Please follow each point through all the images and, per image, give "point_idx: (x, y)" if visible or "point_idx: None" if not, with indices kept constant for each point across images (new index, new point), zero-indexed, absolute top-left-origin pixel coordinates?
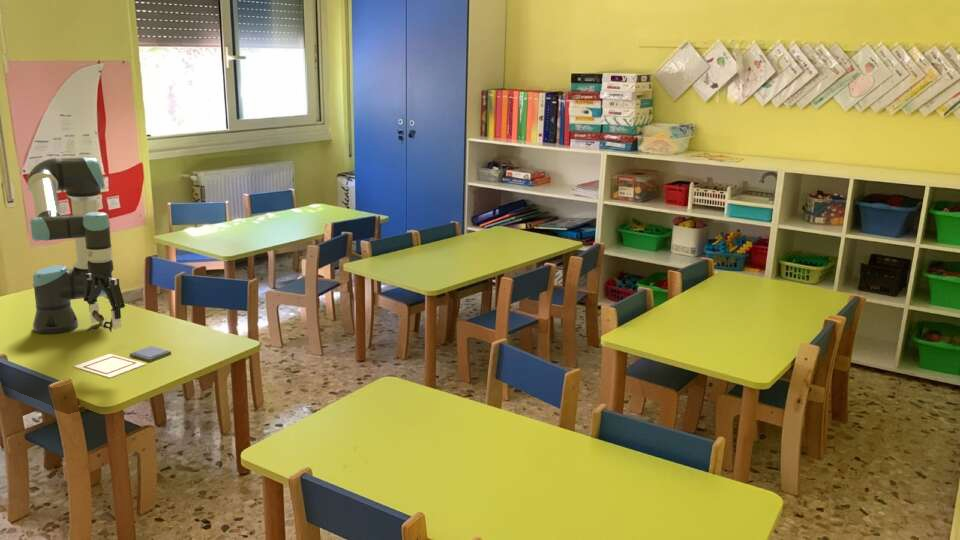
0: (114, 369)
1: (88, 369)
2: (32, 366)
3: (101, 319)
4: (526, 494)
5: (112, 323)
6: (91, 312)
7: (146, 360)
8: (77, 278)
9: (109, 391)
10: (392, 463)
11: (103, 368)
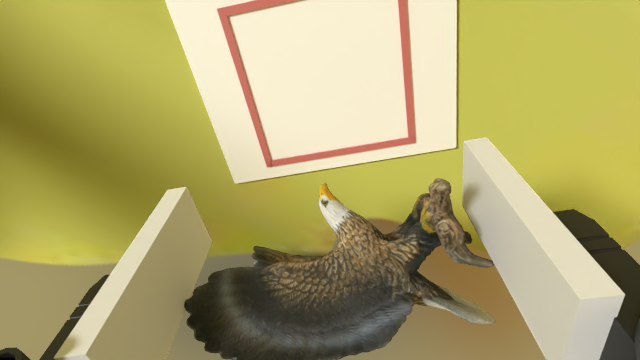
0: (393, 94)
1: (308, 163)
2: None
3: (388, 306)
4: None
5: (485, 238)
6: (175, 326)
7: None
8: None
9: (560, 200)
10: None
11: (344, 120)
